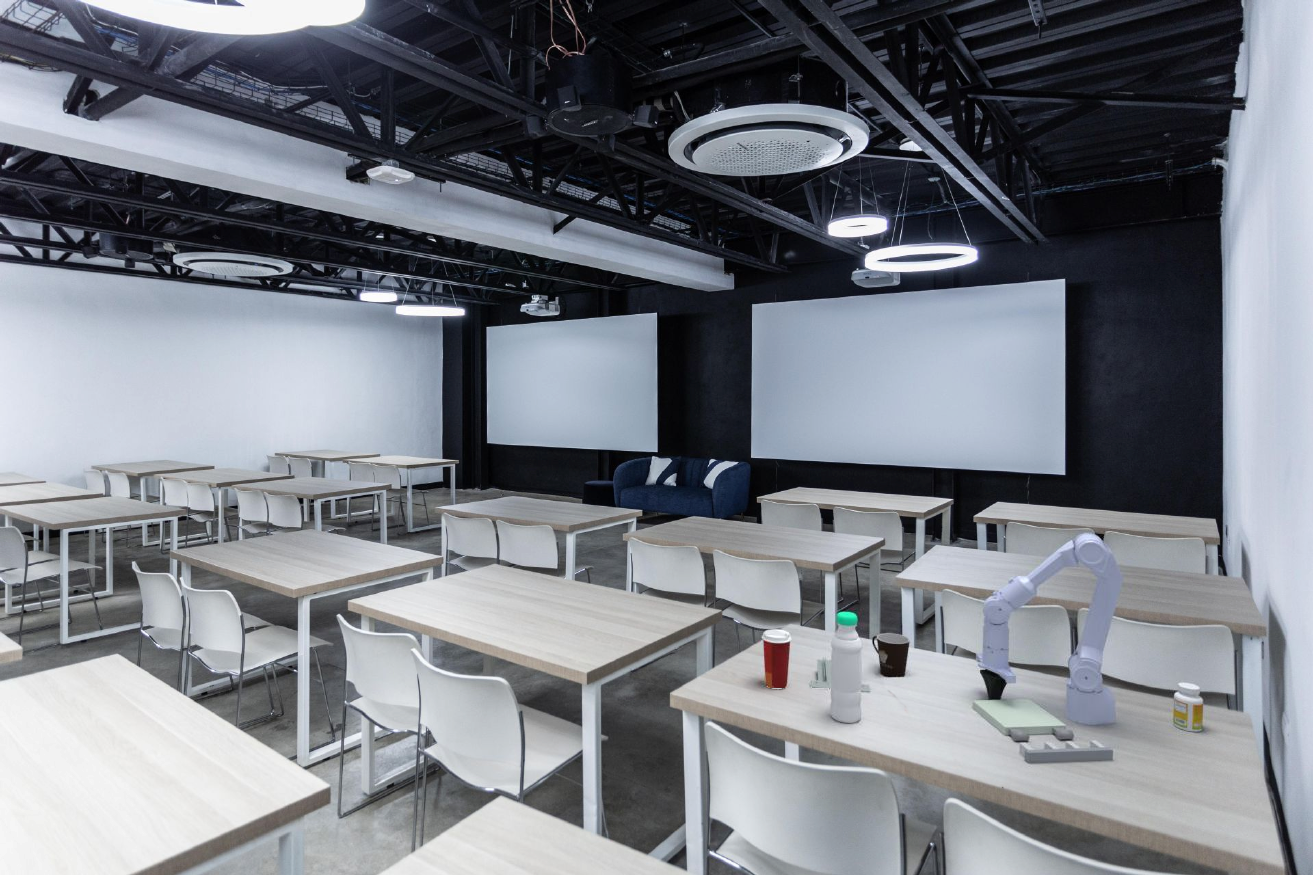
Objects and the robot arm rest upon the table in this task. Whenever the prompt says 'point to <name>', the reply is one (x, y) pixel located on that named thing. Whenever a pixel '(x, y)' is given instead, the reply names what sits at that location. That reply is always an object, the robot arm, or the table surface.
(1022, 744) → the jig board
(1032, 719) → the door
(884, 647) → the coffee mug
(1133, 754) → the table surface
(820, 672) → the metal bracket
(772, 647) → the paper cup
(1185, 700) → the supplement bottle
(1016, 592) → the robot arm
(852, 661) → the water bottle
